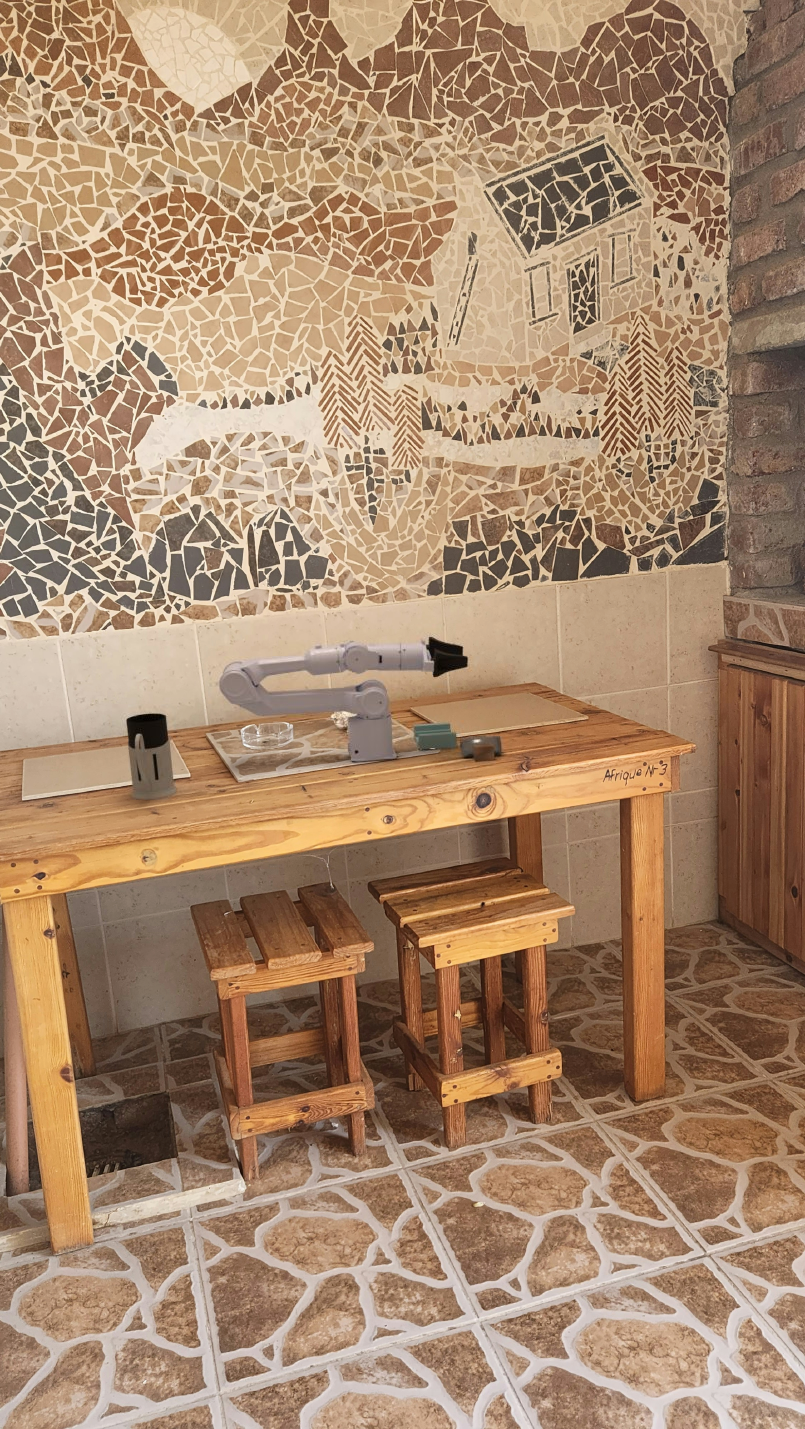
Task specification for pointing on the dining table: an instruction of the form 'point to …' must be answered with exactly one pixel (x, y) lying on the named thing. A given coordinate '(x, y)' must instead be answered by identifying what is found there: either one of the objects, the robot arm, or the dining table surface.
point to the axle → (468, 743)
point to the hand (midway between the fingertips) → (465, 656)
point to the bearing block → (483, 751)
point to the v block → (435, 736)
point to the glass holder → (150, 756)
